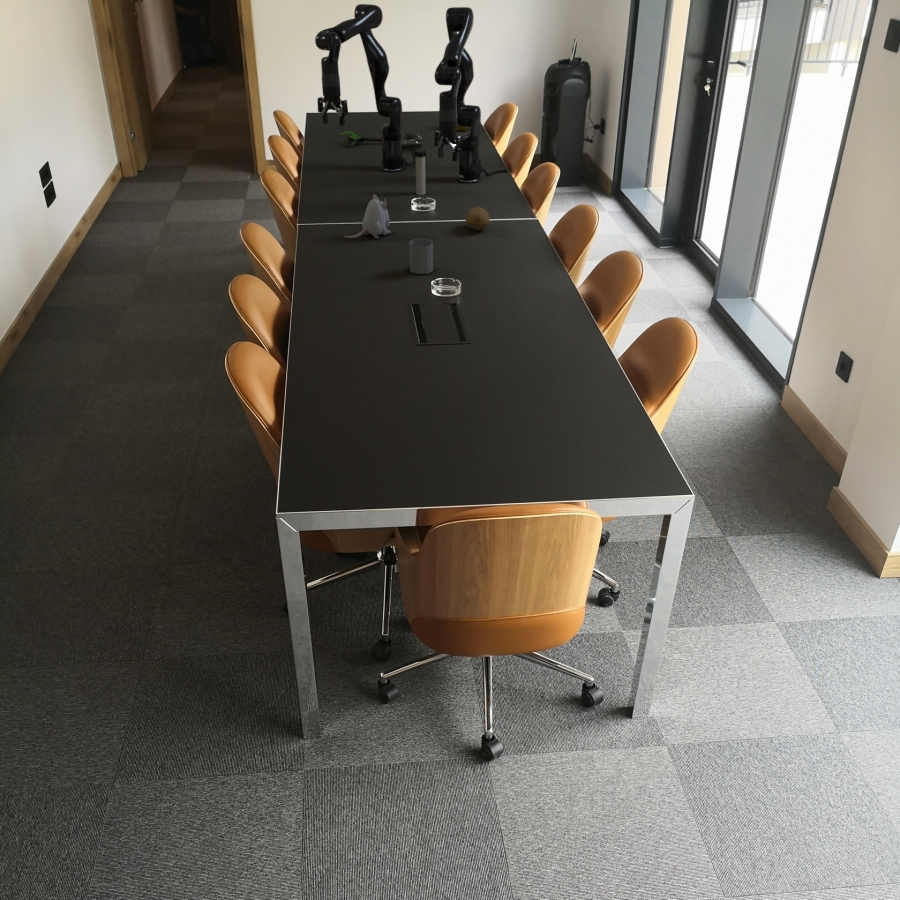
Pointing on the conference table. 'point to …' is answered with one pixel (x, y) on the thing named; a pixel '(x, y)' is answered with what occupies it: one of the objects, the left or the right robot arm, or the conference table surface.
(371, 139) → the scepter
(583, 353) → the conference table surface
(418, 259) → the cup
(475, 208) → the potato
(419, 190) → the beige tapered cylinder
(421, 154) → the lid
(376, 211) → the toy
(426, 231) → the conference table surface
